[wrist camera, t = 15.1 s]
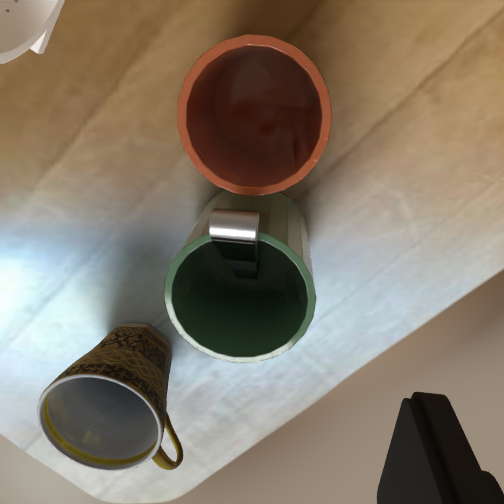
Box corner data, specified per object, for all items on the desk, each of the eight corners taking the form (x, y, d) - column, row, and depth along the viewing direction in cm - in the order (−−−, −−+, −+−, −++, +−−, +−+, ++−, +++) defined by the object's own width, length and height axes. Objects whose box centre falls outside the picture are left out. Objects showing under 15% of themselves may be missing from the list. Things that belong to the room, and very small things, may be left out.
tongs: (269, 159, 35) (258, 216, 17) (258, 277, 38) (240, 422, 21) (244, 156, 35) (209, 212, 18) (236, 274, 38) (199, 417, 21)
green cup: (314, 189, 35) (326, 237, 25) (299, 292, 39) (304, 370, 29) (198, 177, 36) (164, 220, 26) (194, 281, 40) (163, 355, 29)
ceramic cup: (70, 346, 43) (12, 421, 34) (131, 286, 40) (85, 350, 31) (167, 421, 46) (138, 508, 37) (231, 371, 43) (216, 452, 34)
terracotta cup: (324, 50, 31) (343, 42, 21) (309, 163, 35) (319, 202, 25) (212, 40, 32) (178, 27, 22) (207, 153, 35) (176, 188, 25)
